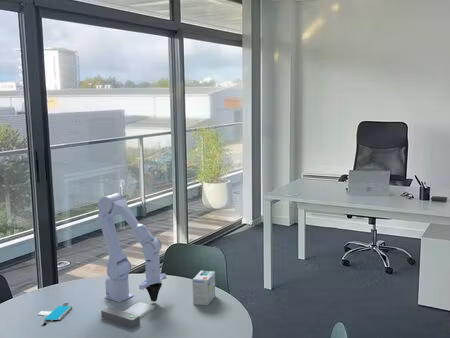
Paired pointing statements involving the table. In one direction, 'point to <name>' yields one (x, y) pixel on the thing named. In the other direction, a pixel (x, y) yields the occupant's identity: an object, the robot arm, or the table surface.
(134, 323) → the charging dock
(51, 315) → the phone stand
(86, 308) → the table surface
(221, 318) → the table surface
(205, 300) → the light bulb box
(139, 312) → the external hard drive
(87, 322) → the table surface
